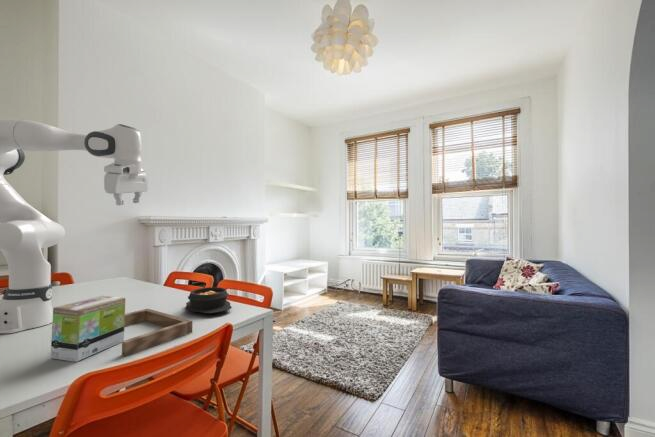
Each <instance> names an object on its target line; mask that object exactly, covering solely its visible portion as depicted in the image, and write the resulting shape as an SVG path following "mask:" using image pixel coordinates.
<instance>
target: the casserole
mask: <svg viewBox="0 0 655 437" xmlns="http://www.w3.org/2000/svg"><path fill="white" fill-rule="evenodd" d="M228 296H229V293H228V291H227V288H224V287H216V286H215V287H213V286H212V287H202V288H197V289H194V290H192V291H190V293H189V295H188V296H187V299H188V301H187V302H186V304H185V305H186V306H185V310H187V311H189V312H194V313H198V314H199V313H200V314H219V313H222V312H225V311H226V312H227V311H229V310H231V309H232V308H233V307H232V306H231V302H230V301H228V300H227V298H228Z"/></svg>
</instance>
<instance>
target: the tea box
mask: <svg viewBox="0 0 655 437" xmlns="http://www.w3.org/2000/svg"><path fill="white" fill-rule="evenodd" d="M52 310H53V321H52V325H51V345H50V358H51V359H55V360H58V361H59V360H60V361H66V362H67V361H68V362H74V363H78V362H80V361H81V360H84V359H86V358H89V357H91V356H92V355H95V354H98V353H99V352H102V351H104V350H106V349H110V348H111V347H114V346H116V345H120V344H122V341H125V327H124V323H125V314H126V297H120V296H109V295H108V296H107V295H100V296H95V297H90V298H87V299H84V300H79V301H75V302H71V303H66V304H63V305H58V306H55V307H52Z"/></svg>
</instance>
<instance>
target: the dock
mask: <svg viewBox="0 0 655 437" xmlns="http://www.w3.org/2000/svg"><path fill="white" fill-rule="evenodd" d="M142 322H148V323H152V324H154V325H158V326H161V327H163V328H160V329H157V330H154V331H150V332H147V333H144V334H140V335H138V336H135V337H132V338H129V339H124V341H122V343H121V356H124V357H126V358H127V356H130V355H133V354H134V355H135V354H136V353H139V352H142V351H145V350H147V349H150V348H153V347H155V346H158V345H160V344H164V343H167V342H169V341H171V340H174V339H177V338H181V337H183V336H185V335H189V334H191V333H193V323H194V322H193V320H191V319H187V318H183V317H181V316H180V317H179V316H176V315H174V314H169V313H165V312H161V311H159V310H154V309H150V308H144V309H140V310H136V311H132V312H127V313H125V323H124V328H125V327H128V326H132V325H135V324H138V323H142Z"/></svg>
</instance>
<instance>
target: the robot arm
mask: <svg viewBox="0 0 655 437" xmlns="http://www.w3.org/2000/svg"><path fill="white" fill-rule="evenodd" d="M24 151H30V152H57V151H58V152H59V151H83V152H84V151H86V152H88V154H90V155H92V156H94V157H98V158H104V159H105V158H106V159H114V162H111V163H110V164H107V165H105V166H104V167H103V170H104V171H103V172H104V173H105V174H104V177H103V181H104V182H103V185H104V186H103V188H104V189H103V190H104V191H105V193H106V194H111V195H113V198H114V199H115V205H116V206H123V205H124V202H125V201H124V200H122V196H123V194H130V193H134V198H132V203H133V204H139V203H140V199H141V196H142V192H144V193H145V192H147V191H148V189H149V180H148V176H147V172H146V171H145V170H144V169H143V168H142V167H143V160H142V152H143V141H142V135H141V132H140V130H139V129H137V128H136V127H132V126H129V125H125V124H121V123H120V124H119V123H118V124H117V123H116V124H115V125H114V126H112V127H110V128H107V129H106V128H105V129H102V130H97V131H96V130H94V131H90V132H89V133H87V134H81V133H77V132H74V131H73V132H72V131H69V130H67V129H66V130H65V129H62V128H60V127H57V126H53V125H50V124H48V123H44V122H38V121H35V120H29V119H20V118H0V252H1V253H2V255H3V256H4V258H5V261H6V263H7V268H8V288H6V289H4V290H1V291H0V296H2V299H0V334H13V333H17V332H22V331H26V330H31V329H35V328H38V327H39V328H40V327H43V326H46V325H49V324H51V323H52V321H53V306H52V305H53V304H52V298H53V284H52V283H51V282H52V281H51V280H52V271H51V270H52V265H51V263H50V262H49V261H48V260H46V258H45V257H44V254H43V251H42V250H43V249H45V248H50V247H53V246H56V245H57V244H60V243H61V242H63V240H64V239H65V236H66V230H65V228H64V226H63V225H61V224H60V223H58V222H56V221H54V220H52V219H51V218H49V217H47V216H45V215H44V214H43V213H42V212H40V211H39V210H38V209H36V208H35V207H33V206H32V205H31V204H29V203H28V202H27V201H26V199H24V198H23V197H22V196H21V194H19V192H18V191H16V190H15V188H14V187H13V186H12V185H11V184H10V183H9V182H8V181H7V180H6V179H5V177H4V175H7V176H8V175H11V174H13V173H14V172H15V170H17V169H19V168H20V167H21V166H22V165H23V164H24V162H25V159H26V156H25V153H24Z"/></svg>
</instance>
